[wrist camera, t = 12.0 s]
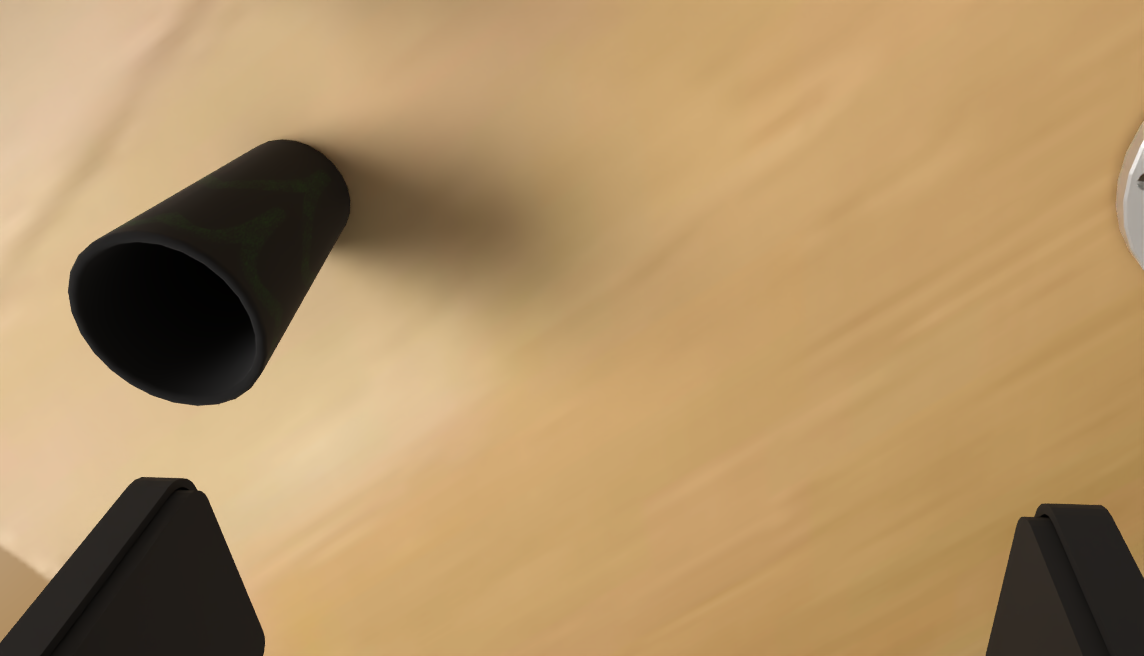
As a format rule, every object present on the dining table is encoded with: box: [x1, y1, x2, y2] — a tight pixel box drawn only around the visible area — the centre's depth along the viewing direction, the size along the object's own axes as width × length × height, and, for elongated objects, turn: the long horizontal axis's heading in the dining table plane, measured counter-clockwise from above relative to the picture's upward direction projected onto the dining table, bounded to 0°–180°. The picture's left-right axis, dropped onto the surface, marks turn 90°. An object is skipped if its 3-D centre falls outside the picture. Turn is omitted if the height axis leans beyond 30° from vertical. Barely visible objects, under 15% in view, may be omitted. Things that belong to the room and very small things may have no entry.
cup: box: [68, 140, 350, 406], centre depth 38 cm, size 8×8×12 cm
